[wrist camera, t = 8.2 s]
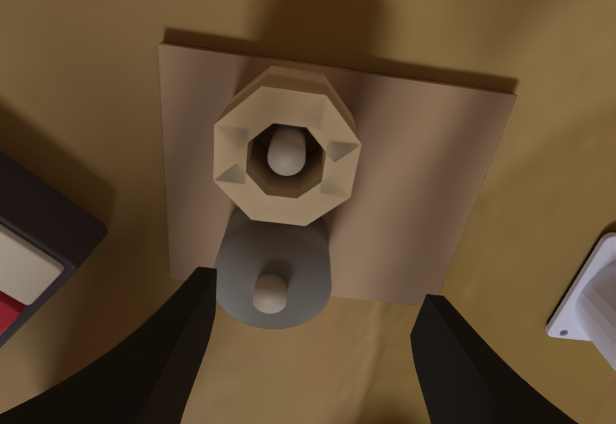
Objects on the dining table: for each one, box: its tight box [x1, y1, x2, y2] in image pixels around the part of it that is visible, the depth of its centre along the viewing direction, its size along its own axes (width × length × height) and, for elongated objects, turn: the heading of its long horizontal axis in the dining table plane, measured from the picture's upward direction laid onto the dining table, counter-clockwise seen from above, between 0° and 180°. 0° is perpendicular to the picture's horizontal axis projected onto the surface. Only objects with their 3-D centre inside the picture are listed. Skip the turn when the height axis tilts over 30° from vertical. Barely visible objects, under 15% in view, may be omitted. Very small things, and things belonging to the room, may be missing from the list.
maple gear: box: [213, 66, 362, 226], centre depth 17 cm, size 6×6×4 cm
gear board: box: [158, 42, 517, 329], centre depth 19 cm, size 16×13×6 cm
